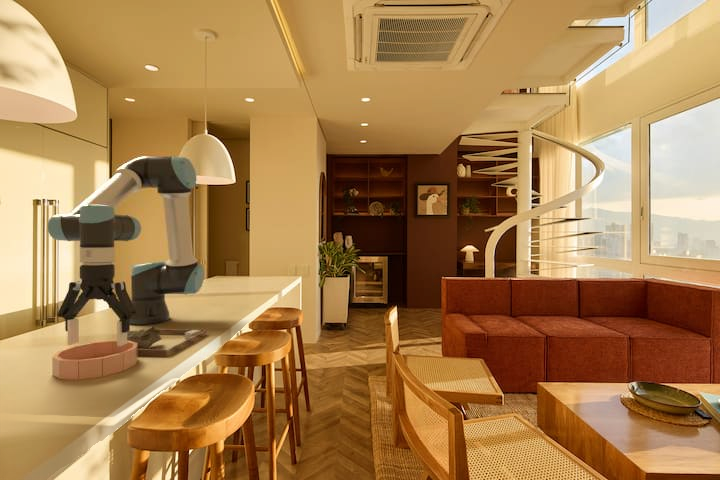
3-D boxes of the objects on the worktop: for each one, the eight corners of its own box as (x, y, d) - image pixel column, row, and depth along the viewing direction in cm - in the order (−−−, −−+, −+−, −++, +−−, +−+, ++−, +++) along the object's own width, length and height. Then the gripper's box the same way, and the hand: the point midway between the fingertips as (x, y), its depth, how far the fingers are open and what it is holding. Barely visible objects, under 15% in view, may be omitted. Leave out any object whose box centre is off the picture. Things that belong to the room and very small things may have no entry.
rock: (162, 335, 120) (162, 326, 112) (158, 354, 117) (157, 347, 109) (122, 333, 116) (118, 324, 108) (117, 352, 113) (113, 345, 105)
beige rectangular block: (193, 336, 129) (193, 329, 129) (200, 337, 128) (200, 330, 128) (184, 339, 125) (184, 332, 125) (191, 340, 124) (191, 333, 124)
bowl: (92, 355, 108) (92, 339, 108) (151, 356, 106) (151, 341, 106) (34, 378, 90) (34, 359, 90) (104, 380, 89) (104, 361, 89)
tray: (148, 334, 131) (148, 329, 131) (206, 335, 130) (206, 330, 130) (97, 354, 108) (97, 348, 108) (167, 356, 107) (167, 350, 107)
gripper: (39, 264, 95) (40, 347, 95) (133, 265, 93) (133, 349, 94) (64, 262, 103) (65, 339, 103) (151, 263, 101) (151, 341, 101)
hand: (97, 344), depth 98 cm, fingers open, 13 cm apart
